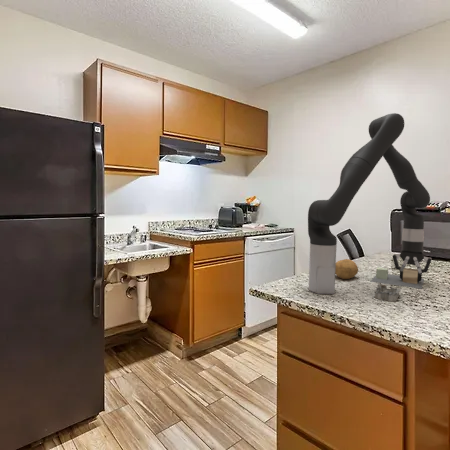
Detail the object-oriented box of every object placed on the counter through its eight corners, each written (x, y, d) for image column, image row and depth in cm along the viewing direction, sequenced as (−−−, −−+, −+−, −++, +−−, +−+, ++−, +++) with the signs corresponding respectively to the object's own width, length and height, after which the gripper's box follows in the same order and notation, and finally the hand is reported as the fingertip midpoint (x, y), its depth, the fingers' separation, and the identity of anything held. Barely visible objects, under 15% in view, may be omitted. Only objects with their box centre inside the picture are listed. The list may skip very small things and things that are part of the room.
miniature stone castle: (379, 292, 113) (379, 281, 112) (401, 296, 108) (402, 285, 108) (371, 298, 105) (372, 287, 104) (395, 303, 100) (396, 291, 100)
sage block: (386, 279, 129) (386, 270, 129) (376, 278, 131) (376, 268, 131) (387, 277, 132) (388, 268, 132) (377, 276, 135) (378, 267, 134)
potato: (328, 280, 129) (329, 261, 128) (337, 274, 140) (338, 257, 140) (352, 284, 123) (353, 264, 123) (360, 277, 135) (361, 259, 134)
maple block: (417, 283, 122) (417, 271, 122) (402, 282, 125) (403, 269, 125) (417, 281, 127) (418, 269, 126) (403, 279, 129) (404, 268, 129)
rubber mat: (421, 290, 115) (421, 288, 115) (369, 282, 126) (369, 281, 126) (424, 279, 132) (424, 278, 132) (378, 273, 142) (378, 272, 142)
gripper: (391, 239, 126) (389, 280, 127) (433, 242, 118) (431, 285, 119) (393, 237, 132) (391, 276, 133) (434, 240, 124) (431, 281, 125)
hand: (410, 280), depth 126 cm, fingers closed on maple block, 5 cm apart
